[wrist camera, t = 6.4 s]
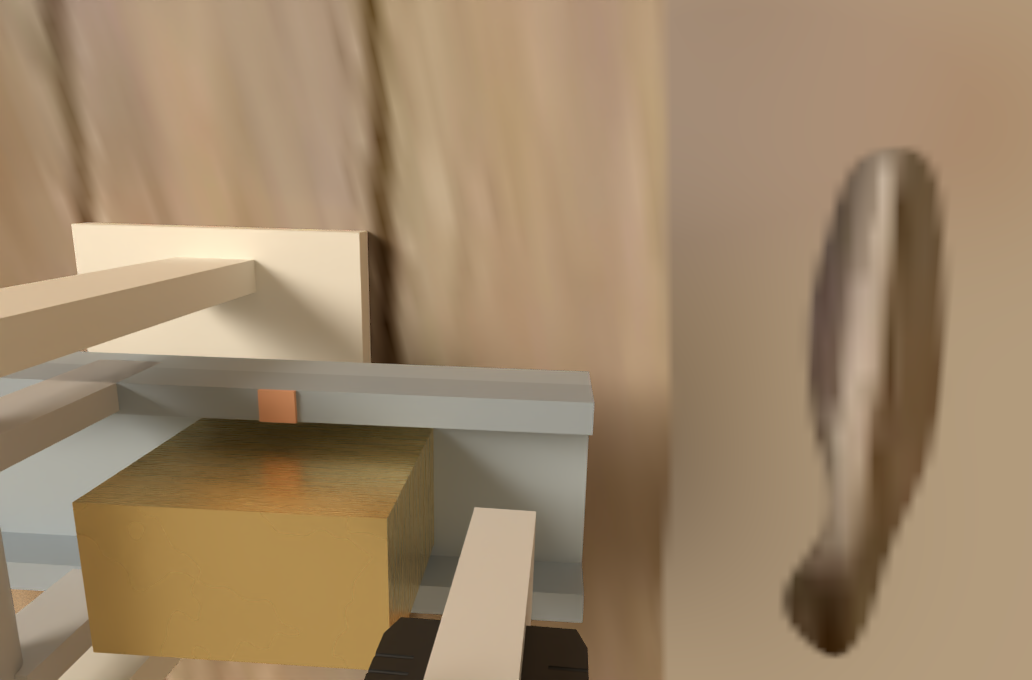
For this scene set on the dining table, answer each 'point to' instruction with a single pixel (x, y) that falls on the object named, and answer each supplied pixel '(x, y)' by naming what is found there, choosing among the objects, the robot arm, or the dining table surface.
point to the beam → (278, 399)
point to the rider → (260, 542)
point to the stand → (192, 317)
